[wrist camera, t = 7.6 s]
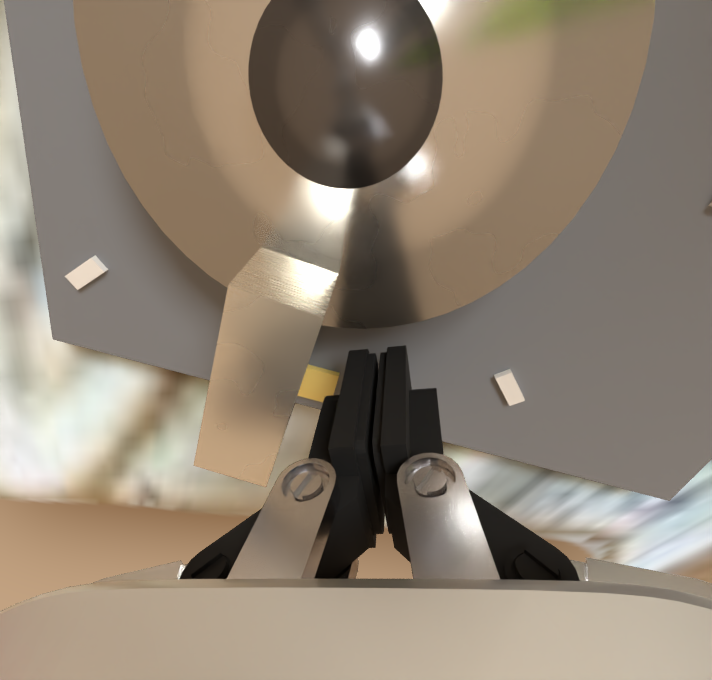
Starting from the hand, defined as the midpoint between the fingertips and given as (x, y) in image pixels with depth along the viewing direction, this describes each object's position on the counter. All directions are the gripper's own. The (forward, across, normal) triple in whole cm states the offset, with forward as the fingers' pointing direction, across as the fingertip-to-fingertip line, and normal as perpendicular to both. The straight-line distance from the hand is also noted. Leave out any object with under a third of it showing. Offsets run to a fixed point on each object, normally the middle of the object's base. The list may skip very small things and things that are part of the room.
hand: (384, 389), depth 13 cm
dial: (+1, 0, -6) cm, 6 cm away
